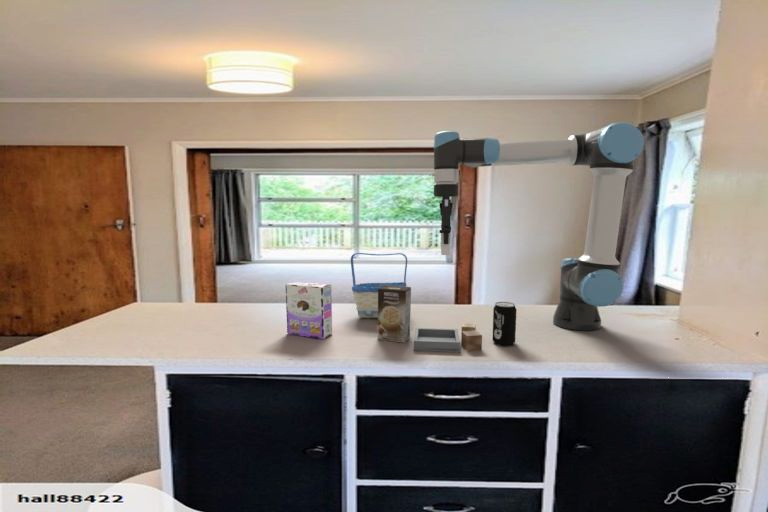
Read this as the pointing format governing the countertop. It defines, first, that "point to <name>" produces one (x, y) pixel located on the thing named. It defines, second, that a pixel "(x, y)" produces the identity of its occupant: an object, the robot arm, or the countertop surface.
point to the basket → (370, 292)
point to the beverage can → (504, 323)
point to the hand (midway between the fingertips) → (445, 252)
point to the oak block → (468, 327)
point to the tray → (436, 340)
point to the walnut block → (471, 340)
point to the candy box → (309, 309)
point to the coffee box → (394, 313)
